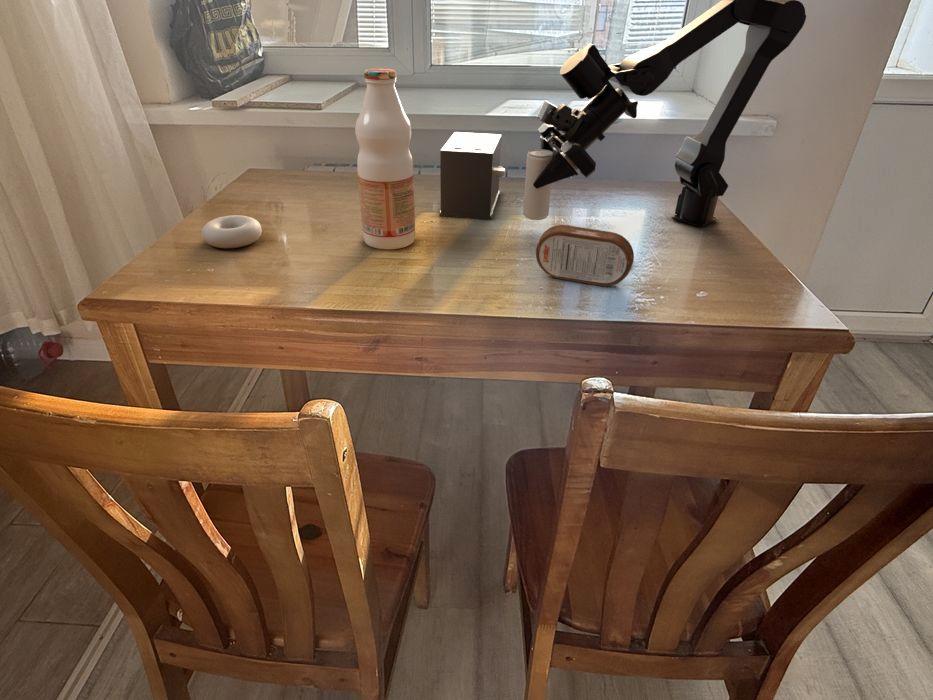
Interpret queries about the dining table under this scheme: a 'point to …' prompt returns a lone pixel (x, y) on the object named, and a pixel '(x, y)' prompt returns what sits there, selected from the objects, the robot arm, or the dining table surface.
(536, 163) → the beverage can
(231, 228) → the donut
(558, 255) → the tin
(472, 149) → the toaster
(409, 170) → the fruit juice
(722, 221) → the dining table surface
